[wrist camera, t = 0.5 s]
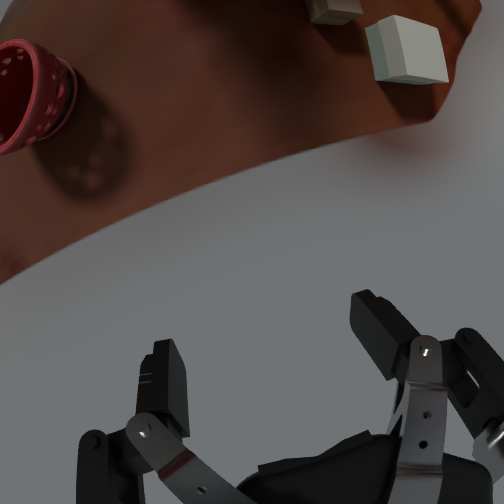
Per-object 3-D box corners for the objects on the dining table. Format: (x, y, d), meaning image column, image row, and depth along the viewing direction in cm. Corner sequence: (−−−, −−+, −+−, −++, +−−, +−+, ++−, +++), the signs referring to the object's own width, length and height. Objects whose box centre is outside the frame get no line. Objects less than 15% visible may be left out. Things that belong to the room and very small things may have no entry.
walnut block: (303, -4, 25) (320, -21, 20) (334, -1, 26) (354, -15, 21) (310, 23, 28) (329, 9, 22) (341, 25, 28) (363, 13, 23)
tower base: (363, 29, 29) (377, 22, 25) (405, 37, 30) (421, 33, 26) (374, 80, 33) (389, 78, 29) (415, 84, 34) (431, 84, 30)
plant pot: (51, 41, 21) (7, 20, 11) (102, 88, 27) (63, 73, 16) (-1, 115, 23) (-52, 120, 13) (45, 165, 29) (-5, 183, 18)
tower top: (377, 21, 25) (393, 14, 22) (420, 32, 26) (437, 28, 23) (389, 77, 29) (407, 74, 26) (430, 83, 30) (448, 82, 26)
